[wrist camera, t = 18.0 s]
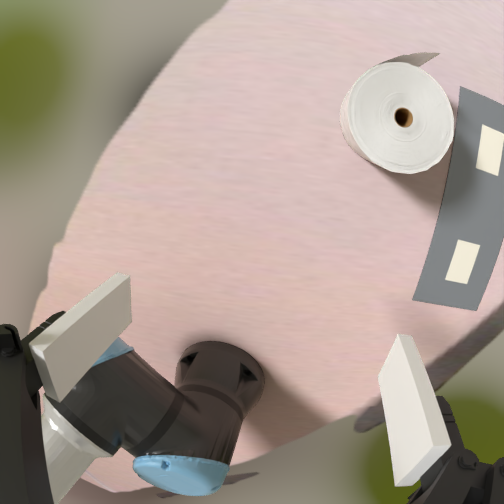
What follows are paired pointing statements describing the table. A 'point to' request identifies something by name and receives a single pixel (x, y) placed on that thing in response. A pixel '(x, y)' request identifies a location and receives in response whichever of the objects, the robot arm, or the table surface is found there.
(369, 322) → the table surface
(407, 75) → the toilet tissue
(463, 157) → the label mat
